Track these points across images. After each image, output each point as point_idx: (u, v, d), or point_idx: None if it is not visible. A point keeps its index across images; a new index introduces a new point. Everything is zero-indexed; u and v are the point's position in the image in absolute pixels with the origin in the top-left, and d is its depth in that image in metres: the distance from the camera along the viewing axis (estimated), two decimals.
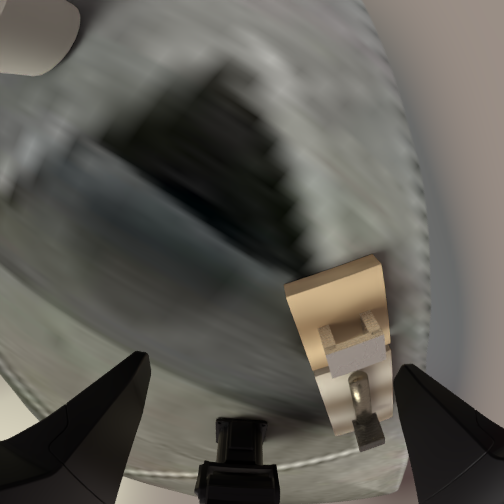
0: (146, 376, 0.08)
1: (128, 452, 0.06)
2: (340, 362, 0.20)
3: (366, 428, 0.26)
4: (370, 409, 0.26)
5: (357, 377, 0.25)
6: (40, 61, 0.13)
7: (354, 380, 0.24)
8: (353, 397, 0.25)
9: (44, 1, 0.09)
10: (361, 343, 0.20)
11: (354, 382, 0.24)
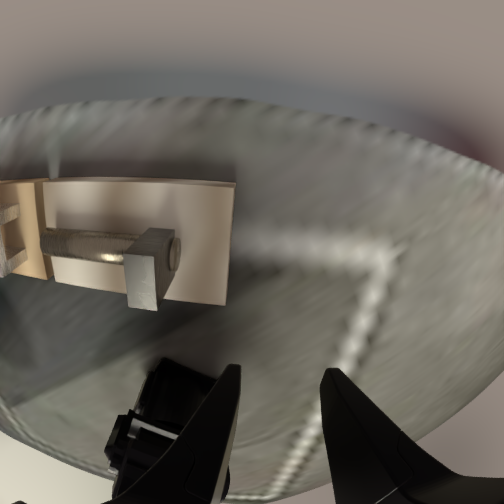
0: None
1: (227, 469, 0.07)
2: None
3: None
4: (107, 241, 0.16)
5: None
6: None
7: None
8: (69, 258, 0.16)
9: None
10: None
11: None
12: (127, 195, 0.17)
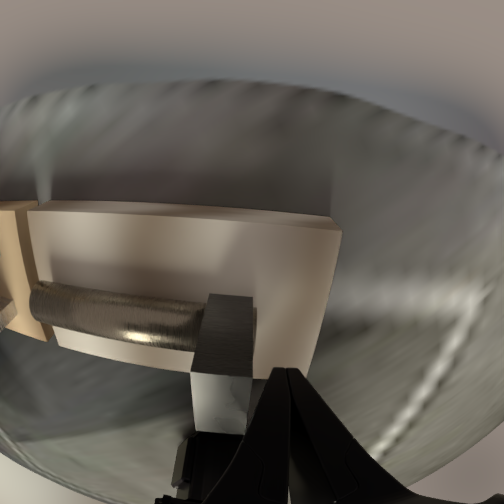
0: None
1: None
2: None
3: None
4: (139, 315, 0.10)
5: None
6: None
7: None
8: None
9: None
10: None
11: None
12: (166, 237, 0.11)
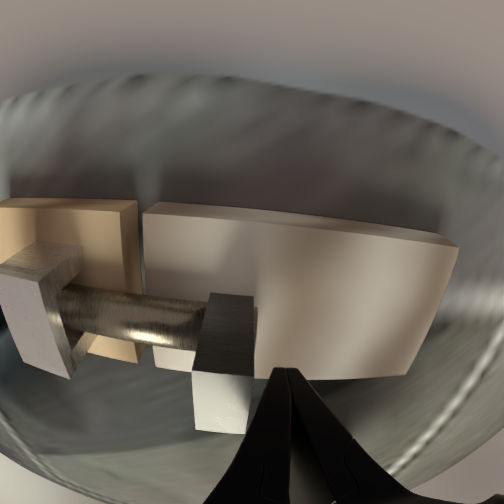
0: None
1: None
2: (35, 353, 0.09)
3: None
4: (139, 313, 0.10)
5: None
6: None
7: None
8: None
9: None
10: (4, 311, 0.08)
11: None
12: (331, 251, 0.11)
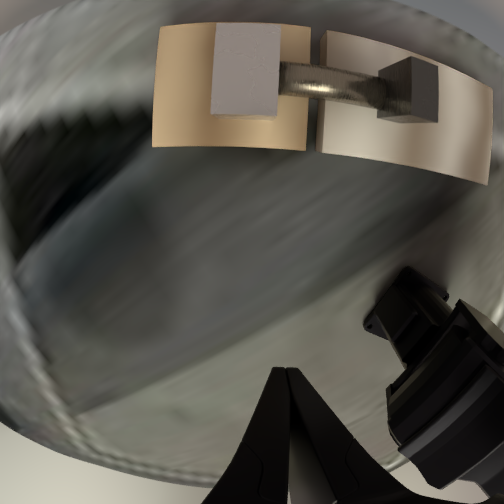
0: None
1: None
2: (241, 94, 0.11)
3: (391, 92, 0.12)
4: (340, 70, 0.12)
5: None
6: None
7: None
8: None
9: None
10: (215, 56, 0.11)
11: None
12: None
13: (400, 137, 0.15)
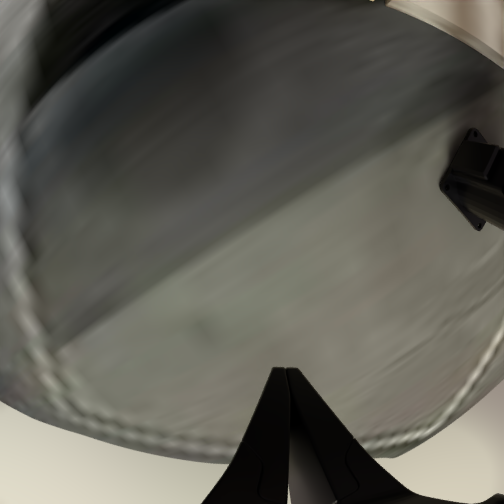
0: None
1: None
2: None
3: None
4: None
5: None
6: None
7: None
8: None
9: None
10: None
11: None
12: None
13: (452, 7, 0.10)
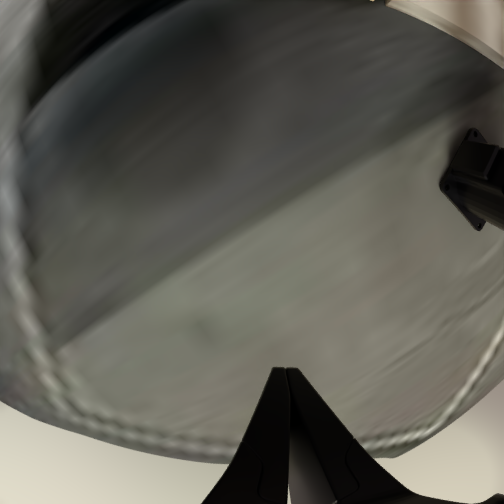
0: None
1: None
2: None
3: None
4: None
5: None
6: None
7: None
8: None
9: None
10: None
11: None
12: None
13: (452, 7, 0.10)
